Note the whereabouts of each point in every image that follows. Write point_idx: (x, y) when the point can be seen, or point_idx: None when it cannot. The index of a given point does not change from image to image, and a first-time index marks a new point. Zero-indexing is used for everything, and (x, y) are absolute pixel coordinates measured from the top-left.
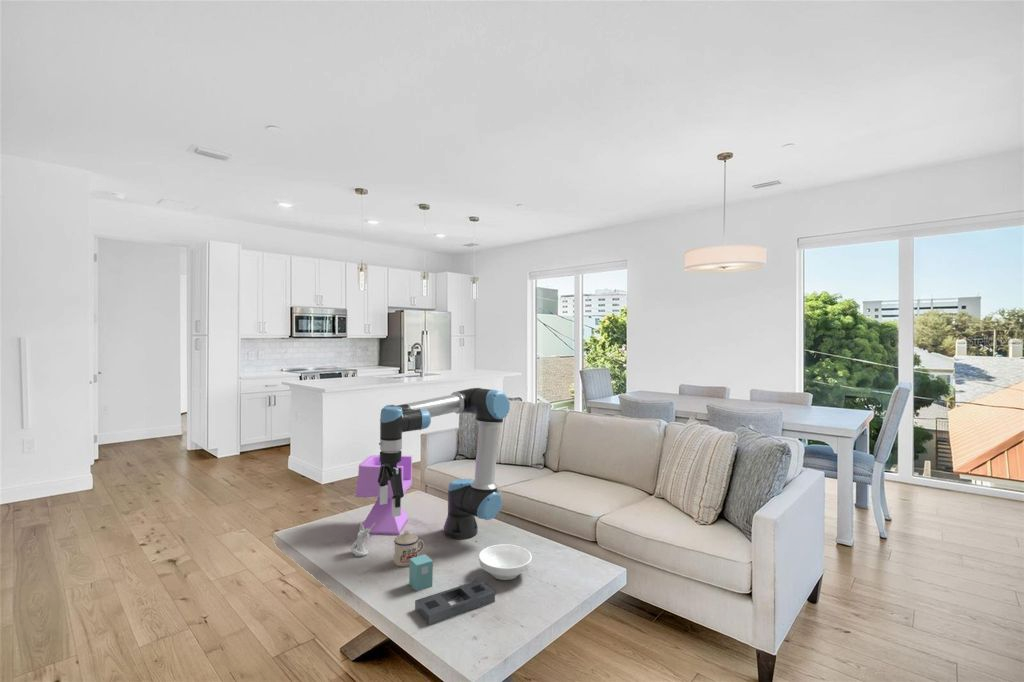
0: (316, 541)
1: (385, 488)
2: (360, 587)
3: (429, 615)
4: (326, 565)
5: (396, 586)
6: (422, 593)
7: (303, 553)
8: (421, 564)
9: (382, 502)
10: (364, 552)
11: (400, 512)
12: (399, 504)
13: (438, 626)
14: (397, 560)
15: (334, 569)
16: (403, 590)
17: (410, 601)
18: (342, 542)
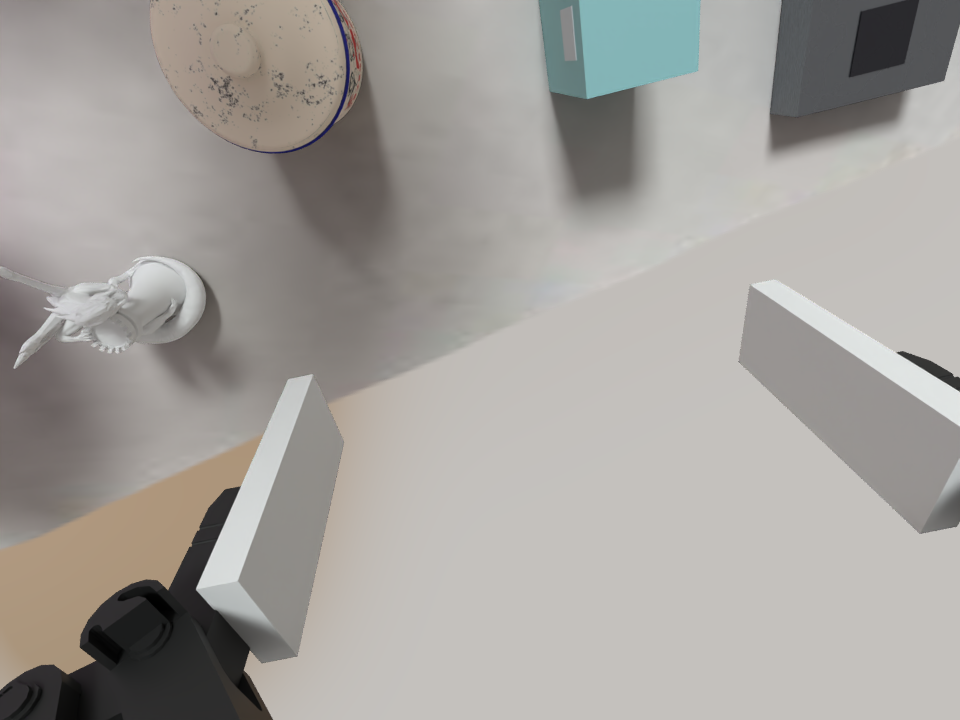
0: (25, 451)
1: (268, 569)
2: (495, 305)
3: (943, 77)
4: None
5: (547, 160)
6: None
7: (156, 481)
8: (698, 32)
9: (331, 438)
10: (176, 275)
11: (801, 296)
12: (949, 383)
13: None
14: (335, 122)
15: None
16: (596, 133)
17: (699, 119)
18: None
